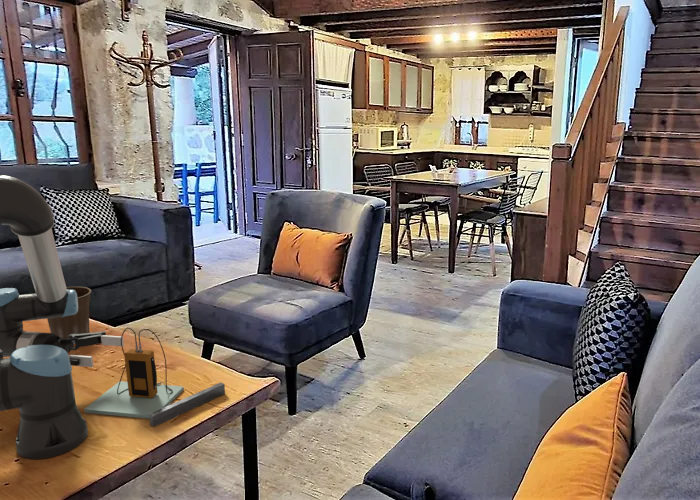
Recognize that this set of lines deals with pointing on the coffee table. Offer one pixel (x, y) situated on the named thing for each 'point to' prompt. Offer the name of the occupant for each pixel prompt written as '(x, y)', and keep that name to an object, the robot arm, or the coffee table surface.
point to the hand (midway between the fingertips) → (108, 351)
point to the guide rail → (186, 404)
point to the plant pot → (73, 316)
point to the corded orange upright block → (141, 371)
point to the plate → (132, 401)
